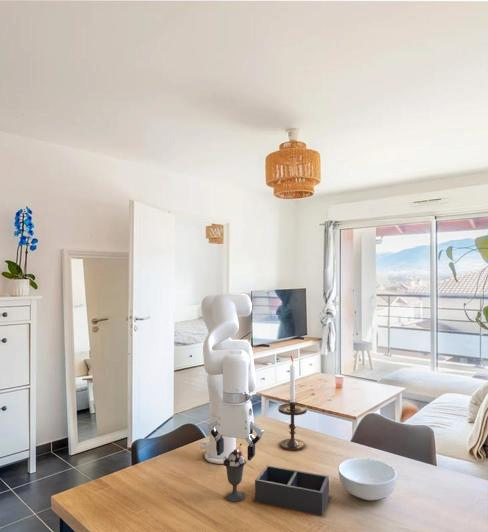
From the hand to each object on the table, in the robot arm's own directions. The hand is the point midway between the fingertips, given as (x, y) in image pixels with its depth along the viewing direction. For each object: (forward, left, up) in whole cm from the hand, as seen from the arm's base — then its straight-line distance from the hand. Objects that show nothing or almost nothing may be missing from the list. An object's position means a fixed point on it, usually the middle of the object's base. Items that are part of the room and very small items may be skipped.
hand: (235, 456), depth 117 cm
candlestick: (+6, +41, -12) cm, 43 cm away
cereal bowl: (+36, +16, -12) cm, 41 cm away
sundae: (0, 0, -12) cm, 12 cm away
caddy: (+16, +5, -12) cm, 20 cm away
